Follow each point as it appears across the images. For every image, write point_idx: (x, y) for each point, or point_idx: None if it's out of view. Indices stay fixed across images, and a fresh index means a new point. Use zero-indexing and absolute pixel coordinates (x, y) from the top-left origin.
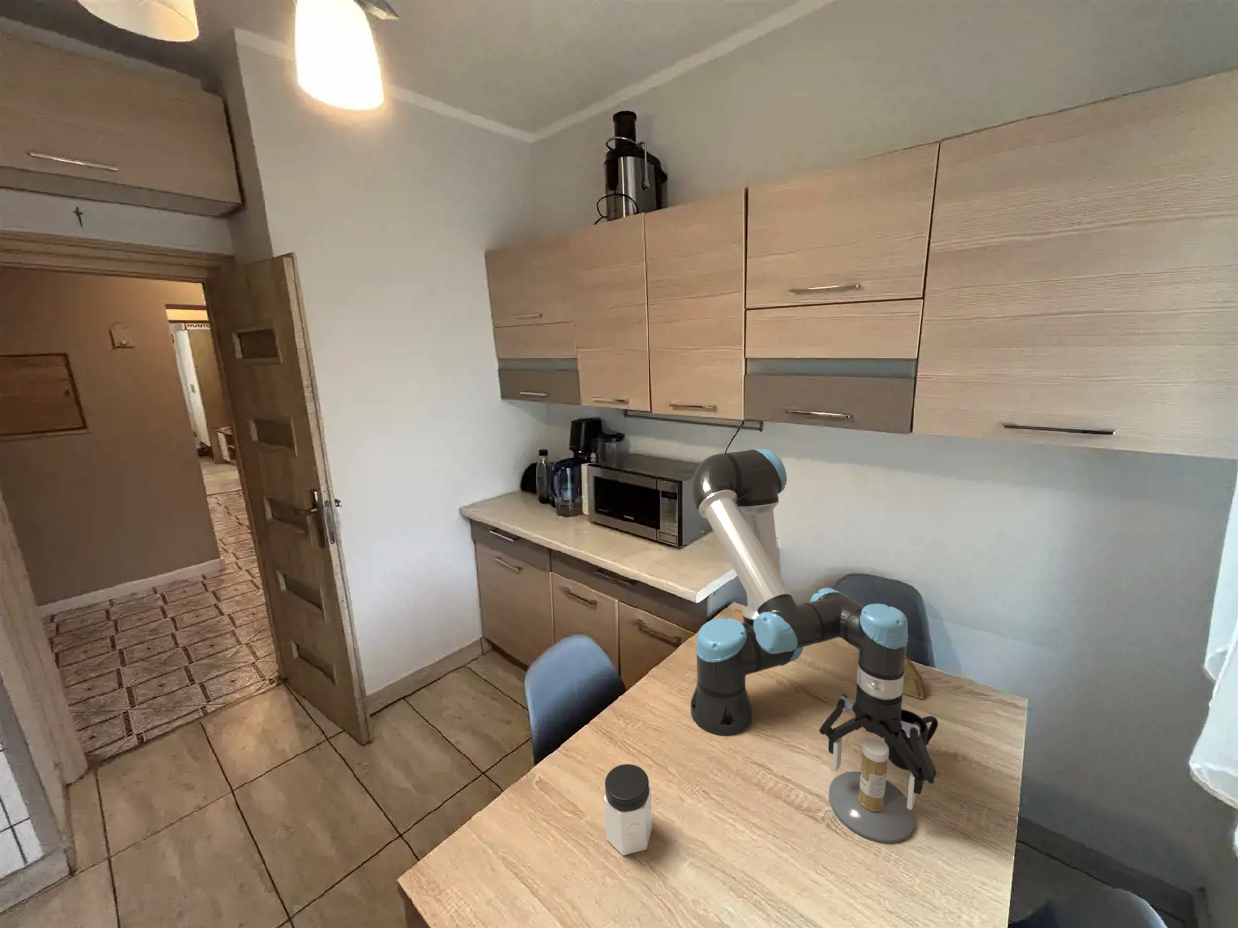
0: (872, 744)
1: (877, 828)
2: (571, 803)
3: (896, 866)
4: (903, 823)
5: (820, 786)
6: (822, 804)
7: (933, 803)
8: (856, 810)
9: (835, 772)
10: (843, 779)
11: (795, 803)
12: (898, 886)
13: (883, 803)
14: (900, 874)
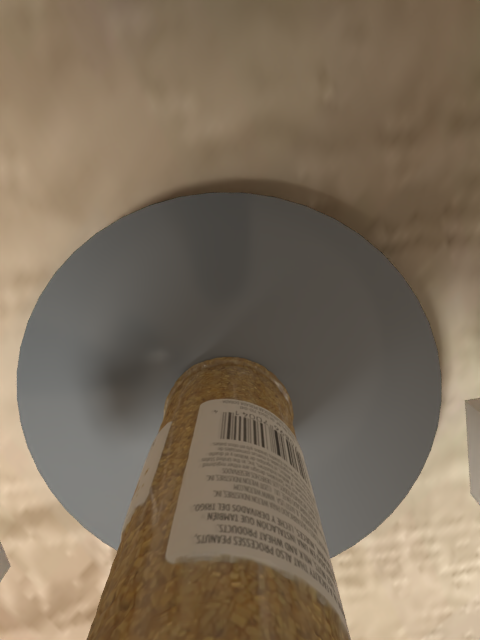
0: None
1: (319, 515)
2: None
3: (429, 570)
4: (398, 406)
5: (10, 467)
6: (83, 540)
7: (461, 110)
8: None
9: (6, 568)
10: (51, 383)
11: (13, 610)
12: (460, 626)
13: (285, 394)
14: (451, 586)
